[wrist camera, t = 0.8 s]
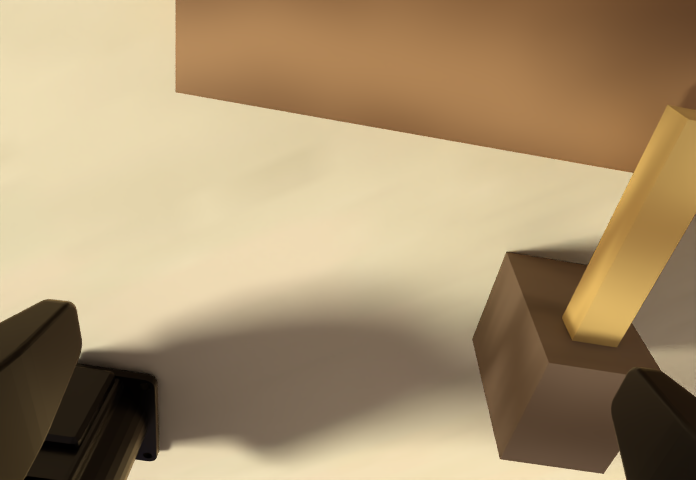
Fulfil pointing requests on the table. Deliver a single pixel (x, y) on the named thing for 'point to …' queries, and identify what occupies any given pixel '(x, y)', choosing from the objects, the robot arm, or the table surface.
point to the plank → (454, 67)
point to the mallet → (584, 316)
